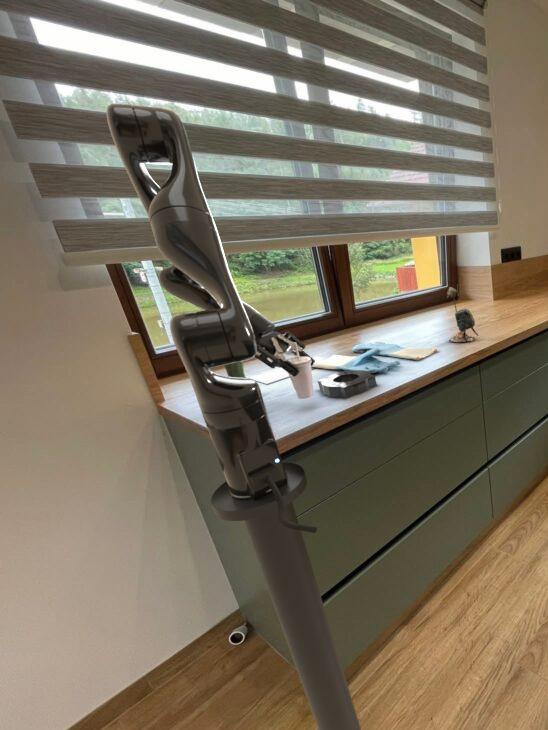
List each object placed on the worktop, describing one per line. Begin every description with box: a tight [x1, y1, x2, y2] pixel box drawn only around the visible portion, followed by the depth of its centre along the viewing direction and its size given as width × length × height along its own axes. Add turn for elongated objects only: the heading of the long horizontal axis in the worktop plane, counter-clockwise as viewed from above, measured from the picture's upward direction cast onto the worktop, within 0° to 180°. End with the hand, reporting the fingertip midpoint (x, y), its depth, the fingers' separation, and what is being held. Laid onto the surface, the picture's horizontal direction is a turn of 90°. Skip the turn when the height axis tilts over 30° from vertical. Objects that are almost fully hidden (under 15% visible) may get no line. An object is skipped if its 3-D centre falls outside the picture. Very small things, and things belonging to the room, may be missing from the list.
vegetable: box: [223, 361, 247, 378], centre depth 108 cm, size 4×4×20 cm
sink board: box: [317, 369, 378, 399], centre depth 118 cm, size 13×13×3 cm
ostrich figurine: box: [446, 286, 480, 343], centre depth 154 cm, size 8×11×20 cm
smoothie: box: [286, 342, 315, 400], centre depth 106 cm, size 6×6×14 cm
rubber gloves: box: [311, 341, 438, 374], centre depth 141 cm, size 27×33×6 cm
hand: (305, 368), depth 106 cm, fingers closed on smoothie, 6 cm apart
